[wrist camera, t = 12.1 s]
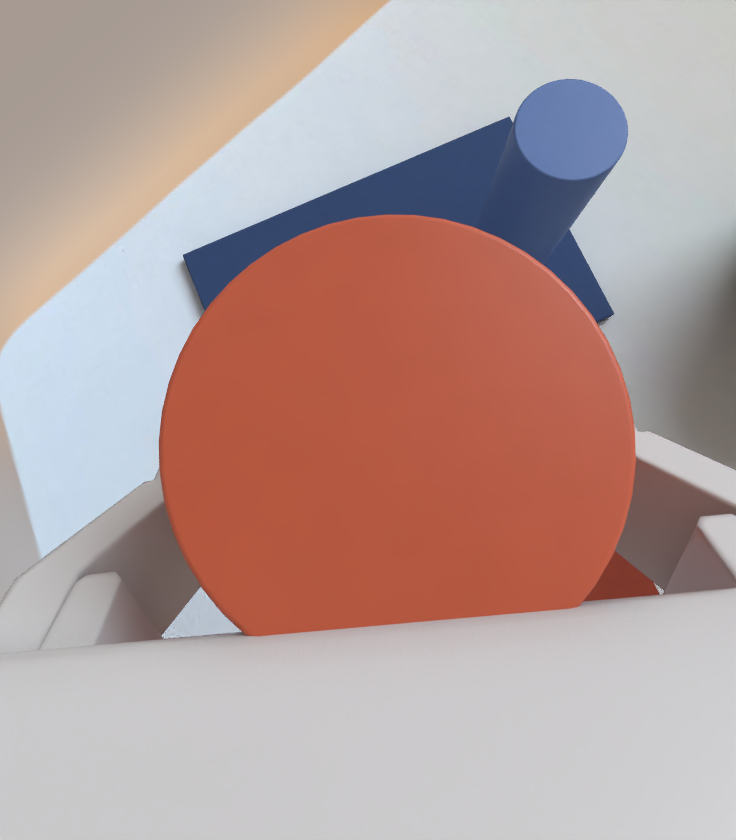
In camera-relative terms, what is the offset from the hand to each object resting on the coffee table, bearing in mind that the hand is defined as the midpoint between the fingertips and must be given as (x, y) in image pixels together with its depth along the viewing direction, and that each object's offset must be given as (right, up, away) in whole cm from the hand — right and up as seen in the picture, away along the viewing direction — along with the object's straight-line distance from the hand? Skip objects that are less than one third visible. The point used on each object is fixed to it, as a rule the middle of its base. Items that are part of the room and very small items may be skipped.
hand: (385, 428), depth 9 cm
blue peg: (+8, +10, +19) cm, 23 cm away
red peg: (0, -1, +5) cm, 5 cm away
